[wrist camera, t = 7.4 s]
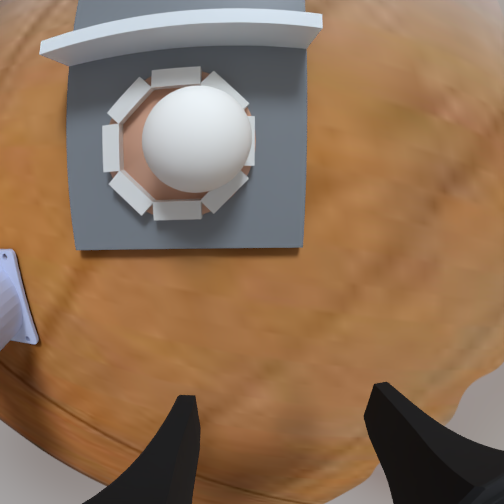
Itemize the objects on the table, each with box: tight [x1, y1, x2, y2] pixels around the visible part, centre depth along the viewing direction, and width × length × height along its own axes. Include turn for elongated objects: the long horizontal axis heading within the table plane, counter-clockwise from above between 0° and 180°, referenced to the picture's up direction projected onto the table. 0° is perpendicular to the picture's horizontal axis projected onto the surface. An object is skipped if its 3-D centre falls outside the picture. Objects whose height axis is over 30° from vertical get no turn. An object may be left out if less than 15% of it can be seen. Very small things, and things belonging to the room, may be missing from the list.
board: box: [39, 0, 323, 250], centre depth 13 cm, size 14×24×4 cm, turn 0°
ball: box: [142, 85, 252, 193], centre depth 14 cm, size 5×5×5 cm
